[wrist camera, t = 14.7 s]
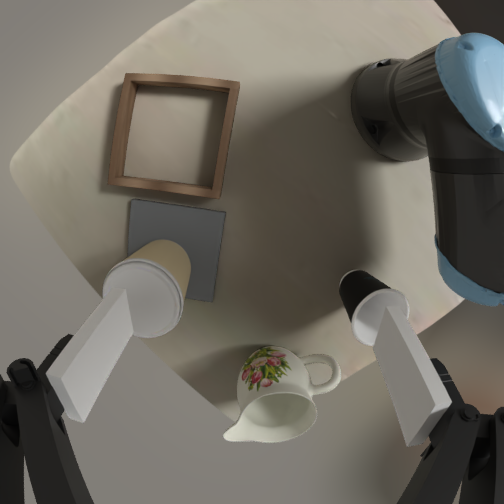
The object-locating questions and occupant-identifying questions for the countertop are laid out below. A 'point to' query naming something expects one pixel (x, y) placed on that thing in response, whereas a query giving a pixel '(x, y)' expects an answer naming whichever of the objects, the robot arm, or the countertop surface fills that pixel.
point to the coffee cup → (153, 286)
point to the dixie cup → (368, 303)
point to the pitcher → (277, 395)
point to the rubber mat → (181, 238)
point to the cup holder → (125, 120)
